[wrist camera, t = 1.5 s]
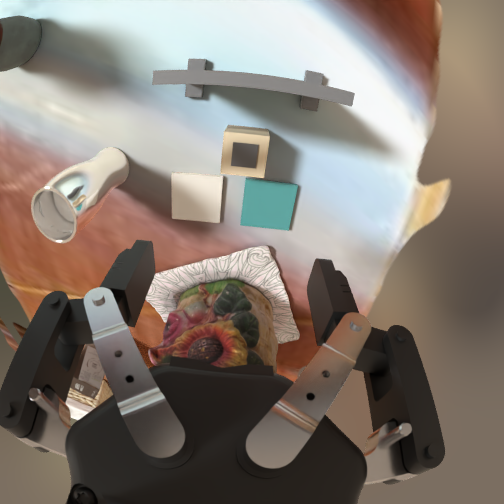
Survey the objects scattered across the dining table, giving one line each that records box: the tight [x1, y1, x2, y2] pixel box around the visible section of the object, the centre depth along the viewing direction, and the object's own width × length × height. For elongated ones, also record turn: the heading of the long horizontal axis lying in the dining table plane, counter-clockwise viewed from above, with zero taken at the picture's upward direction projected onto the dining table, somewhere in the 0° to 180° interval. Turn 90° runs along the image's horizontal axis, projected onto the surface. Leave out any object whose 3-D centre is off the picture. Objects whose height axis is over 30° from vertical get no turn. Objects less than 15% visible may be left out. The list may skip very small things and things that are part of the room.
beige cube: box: [220, 125, 270, 178], centre depth 32 cm, size 5×5×5 cm
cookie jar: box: [146, 246, 300, 373], centre depth 38 cm, size 25×25×32 cm
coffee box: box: [70, 344, 105, 399], centre depth 50 cm, size 9×6×16 cm
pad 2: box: [240, 178, 298, 230], centre depth 38 cm, size 7×7×1 cm
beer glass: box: [31, 147, 129, 243], centre depth 28 cm, size 7×7×15 cm
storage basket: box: [66, 380, 113, 420], centre depth 69 cm, size 24×16×15 cm
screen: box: [152, 59, 354, 111], centre depth 23 cm, size 5×16×13 cm, turn 83°
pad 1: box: [171, 172, 223, 223], centre depth 37 cm, size 7×7×1 cm
